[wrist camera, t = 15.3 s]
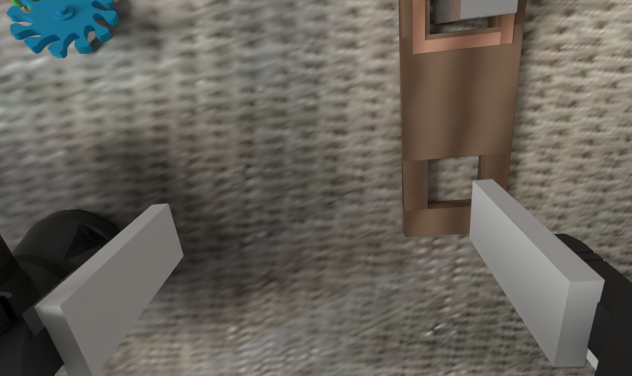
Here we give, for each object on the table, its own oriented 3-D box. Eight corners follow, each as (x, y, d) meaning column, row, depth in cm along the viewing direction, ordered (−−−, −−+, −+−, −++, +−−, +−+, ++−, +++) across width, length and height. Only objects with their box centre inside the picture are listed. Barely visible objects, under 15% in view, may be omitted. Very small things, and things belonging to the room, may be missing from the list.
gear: (134, -2, 37) (69, 63, 33) (150, 40, 43) (96, 100, 39) (42, -46, 38) (-33, 13, 34) (70, 1, 43) (7, 57, 39)
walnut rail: (402, 229, 47) (405, 237, 45) (397, -75, 35) (400, -82, 33) (496, 223, 46) (503, 231, 44) (525, -94, 34) (537, -103, 32)
